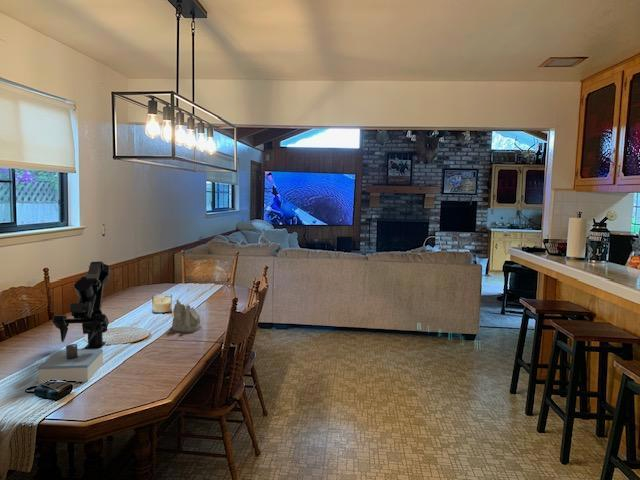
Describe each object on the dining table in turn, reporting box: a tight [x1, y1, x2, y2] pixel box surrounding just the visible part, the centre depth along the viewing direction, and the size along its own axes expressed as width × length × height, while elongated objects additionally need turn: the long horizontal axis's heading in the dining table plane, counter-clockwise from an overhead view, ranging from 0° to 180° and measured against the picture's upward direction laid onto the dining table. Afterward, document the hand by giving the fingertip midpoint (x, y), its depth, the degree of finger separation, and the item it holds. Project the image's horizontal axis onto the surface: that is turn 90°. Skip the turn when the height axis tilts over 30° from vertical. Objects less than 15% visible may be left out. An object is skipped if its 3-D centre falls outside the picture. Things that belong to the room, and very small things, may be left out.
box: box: [37, 351, 104, 384], centre depth 163 cm, size 16×16×5 cm
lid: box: [37, 343, 104, 371], centre depth 162 cm, size 16×16×6 cm
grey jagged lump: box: [171, 299, 203, 333], centre depth 222 cm, size 16×16×15 cm
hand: (75, 341), depth 165 cm, fingers open, 9 cm apart
